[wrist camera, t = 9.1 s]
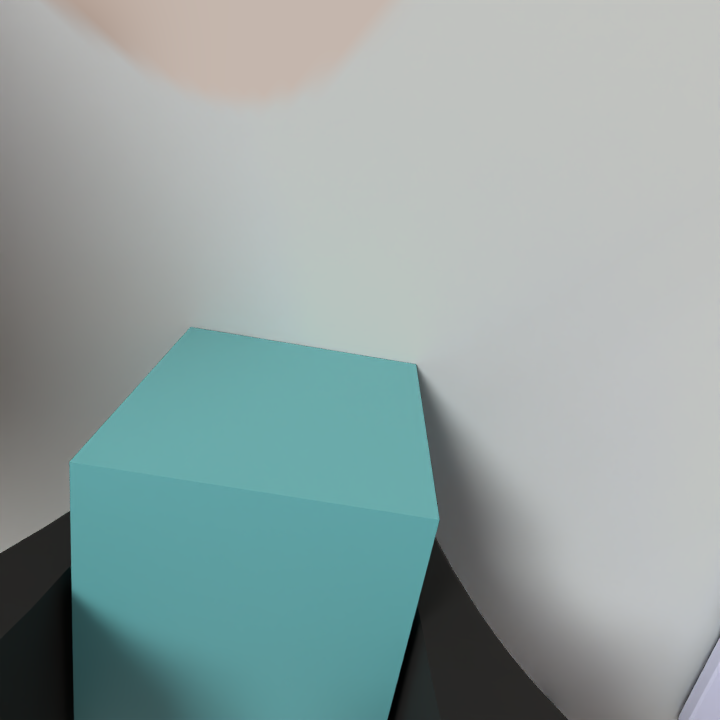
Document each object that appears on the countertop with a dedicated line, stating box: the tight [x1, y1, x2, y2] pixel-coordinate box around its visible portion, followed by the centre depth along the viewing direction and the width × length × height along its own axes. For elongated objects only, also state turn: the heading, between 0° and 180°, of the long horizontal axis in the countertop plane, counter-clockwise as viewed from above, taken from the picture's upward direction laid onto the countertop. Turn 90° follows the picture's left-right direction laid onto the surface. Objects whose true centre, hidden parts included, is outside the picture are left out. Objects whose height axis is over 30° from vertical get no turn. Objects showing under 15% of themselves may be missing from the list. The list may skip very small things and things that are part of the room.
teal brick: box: [69, 327, 439, 720], centre depth 11 cm, size 4×7×5 cm, turn 171°
